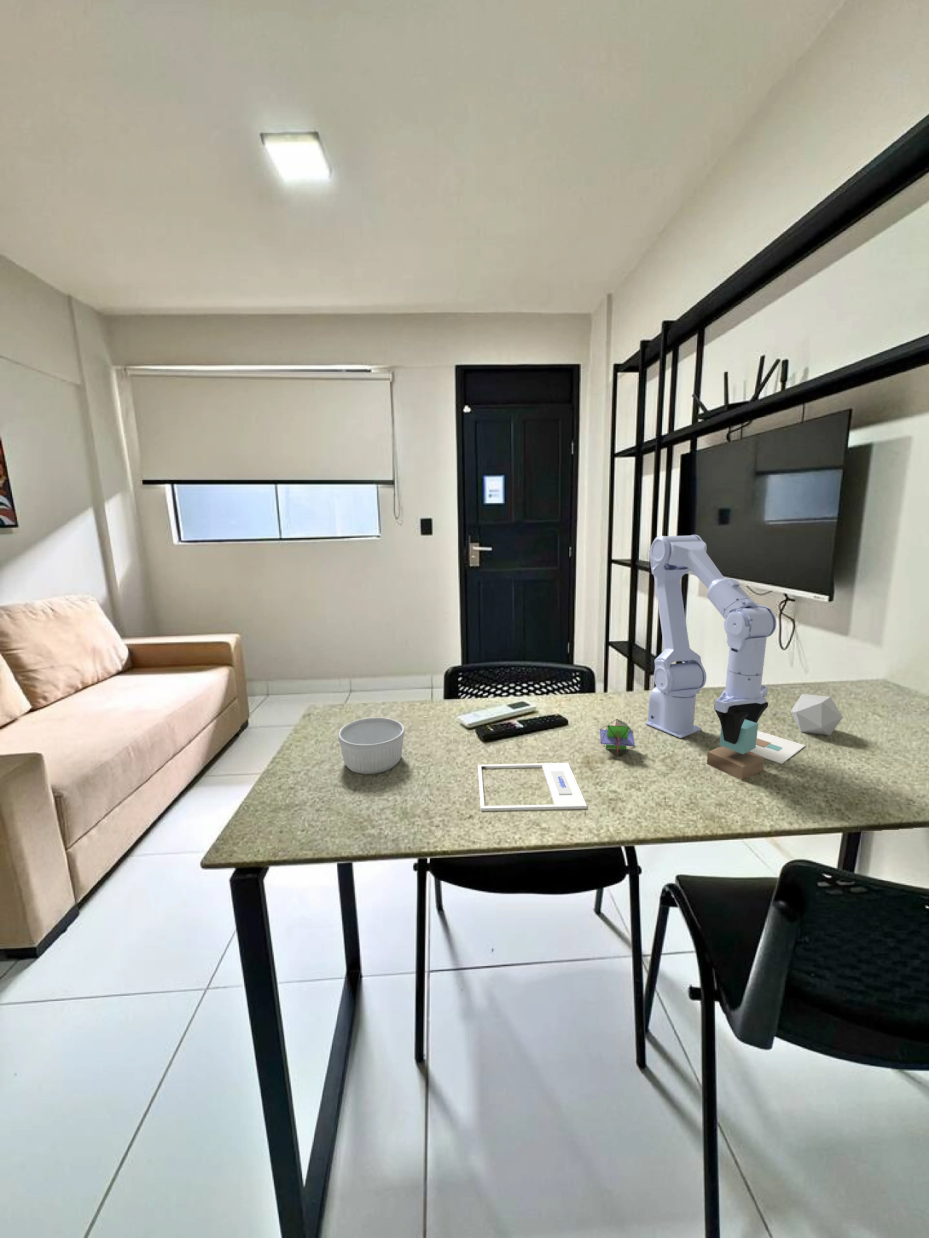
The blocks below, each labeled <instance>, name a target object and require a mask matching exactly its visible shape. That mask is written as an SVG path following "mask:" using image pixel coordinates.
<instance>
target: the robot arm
mask: <svg viewBox="0 0 929 1238" xmlns="http://www.w3.org/2000/svg"><path fill="white" fill-rule="evenodd" d="M707 551H708V550H707V543H706V542H705V541H704V540H703V539H702V537H701V536H700V535H698V534H691V535H671V536H670V535H669V536H668V535H667V536H666V535H658V536H657V537H655V538H654V540H653V541H652V543H651V546H650V548H649V549H648V554H649V555H648V556H649V562H650V568H651V575H653V578H654V585H655V592H656V600H657V607H658V614H659V620H660V627H661V635H662V643H663V649H664V650H663V651H662V652H661V653H660V654H659V655H657V657H656V658H655V659H654V672H653V681H654V683H655V684H654V685H655V686H654V687H653V689H652V690H651V691H650V694H649V698H648V711H647V720H646V721H645V724H646V725H647V726H650V727H653V728H655V729H656V730H659V731H662V732H665V733H666V734H669V735H672V736H674V737H676V738H679V739H682V738H685V737H688V736H690V735H693V734H694V733H697V732H699V731H702V727H700V726H698V725H697V724H694V723H695V711H696V699H697V694H700V690H701V689H703V688H704V687H705V685H706V683H707V671H706V669H705V667H704V665H703V662H702V658H701V656H700V655H699V654H698V653H697V652H695V651H694V650H693V649H692V648H690V641H689V633H688V628H687V621H686V613H685V608H684V607H685V606H684V600H683V599H684V598H683V594H682V593H683V592H682V585H681V579H682V577H684V576H685V575H686V574H688V573H689V572H690V571H691V572H692V573H693V574H694V576H695V577H696V578H698V580H699V581H700V582H701V583H702V584H703V585H704V586H705V587H706V588H707V589H708V590H707V599H708V600H709V601H710V603H711V604H712V606H714V608H715V609H716V610H717V611H718V612H719V614H720V615H721V616H722V618H723V619H724V620H723V627H724V628H723V629H724V631H725V633H726V639H727V640H726V644H727V646H728V647H729V648H728V659H727V660H728V661H727V667H726V669H727V670H726V681H725V689H724V690H723V692H722V693H721V695H720V696H719V697H718V698H717V699H715V700H714V705H713V710H714V711H715V713H716V715H717V717H718V720H719V723H720V726H721V727H722V732H723V737H724V741H727V742H729V743H732V744H736V743H737V741H738V739H739V735H740V730H741V727H742V724H743V722H744V720H745V719H746V720H749V721H752V722H755V723H758V722H759V720H760V718H761V716H762V715H763V713H764V711H766V709H767V708H768V707H769V703H768V701H767V698H766V697H768V689H769V687H767V686H765V685H762V683H763V682H762V681H763V675H764V674H763V673H764V672H763V671H764V667H765V666H764V665H765V657H766V656H765V654H766V647H767V638H769V637H771V636H772V635H773V634H774V632H775V631H776V629H777V619H776V615H775V613H774V612H773V611H772V609H771V608H770V607H769V606H766V605H760V604H759V603H757V602H755V601H754V600H753V599H752V598H751V597H750V595H749V594H747V593H746V591H745V590H744V589H743V588H742V587H741V586H740V585H741V583H740V582H739V581H738V580H737V579H733V578H729V577H728V578H725V576H723V574H722V573H721V572H720V570H719V569H718V567H717V566H716V565H715V563H714V561H713V560H712V559H711V557H710V556H709V555H708V553H707ZM674 662H679V663H674ZM721 727H720V728H721Z"/></svg>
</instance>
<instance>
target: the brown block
mask: <svg viewBox="0 0 929 1238" xmlns="http://www.w3.org/2000/svg"><path fill="white" fill-rule="evenodd" d="M765 760H766V759H765V757H763V756H760V755H758V754H755V753H753V752H750V751H749V752H747V753H745V754H741V753H738V752H736V751H733V750H730V749H728V748H725V747H723V746H719V747H715V748H714V749H711V750H709V751H707V758H706V765H708V766H710V767H712V768H714V769H717V770H718V771H721V772H723V773H726V774H727V775H729V776H731V777H734V778H736V779H738V780H740V781H743V780H745V779H747V778H749V777H752V776H754V775H757V774H758V773H760V772H762V771H764V769H765V768H764V766H765Z"/></svg>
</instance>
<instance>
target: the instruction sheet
mask: <svg viewBox="0 0 929 1238" xmlns="http://www.w3.org/2000/svg"><path fill="white" fill-rule="evenodd" d="M805 747H806V745H805V744H802V743H798V742H796V741H793V740H789V739H786V738H782V737H780V736H777V735H774V734H770V733H766V732H764V731H760V730H758V731H757V739H756V748H754V749H752V750H751V751H750V752H753V753H755V754H758V755H760V756H763V757H765V760H768V761H771V762H774V763H776V764H777V763H778V764H779V765H782V764H784V763H785V762H787V761H788V760H789V759H791V758H792V757H793V756H795V754H797V753H798V752H799V751H801V750H802V749H803V748H805Z"/></svg>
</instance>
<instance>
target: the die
mask: <svg viewBox="0 0 929 1238" xmlns="http://www.w3.org/2000/svg"><path fill="white" fill-rule="evenodd" d="M790 714H791V715H792V718H793V720H794V721H795V724H796V725H797V727H798V729H799V730H800V732H801V733H807V734H814V735H820V736H827V737H828V736H831V735H832V733H833V732H834V731H835V729H836V728H837V727H838V725H839V724H840V723H841V721H842V720H843V718H844V717H843V715H842V713H841V712H840V710H839V708H838V707H837V705H836V704H835V702H834V700H833V699H832V697H831V696H826V695H816V694H806V693H802V694H801V695H800V697H799V698H798V700H797V701H796V703H795V704H794V705H793V707H792V709H791V710H790Z"/></svg>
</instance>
